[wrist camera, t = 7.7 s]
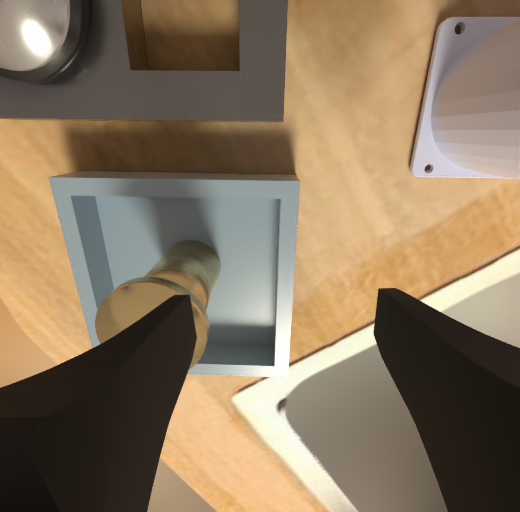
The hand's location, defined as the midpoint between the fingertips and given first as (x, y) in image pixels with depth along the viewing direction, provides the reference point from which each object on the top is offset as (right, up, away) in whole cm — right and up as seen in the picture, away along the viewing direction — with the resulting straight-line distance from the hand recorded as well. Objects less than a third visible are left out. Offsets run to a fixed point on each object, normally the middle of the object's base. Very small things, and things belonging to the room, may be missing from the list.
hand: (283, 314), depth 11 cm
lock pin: (-6, +1, +10) cm, 11 cm away
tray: (-6, +1, +10) cm, 12 cm away
